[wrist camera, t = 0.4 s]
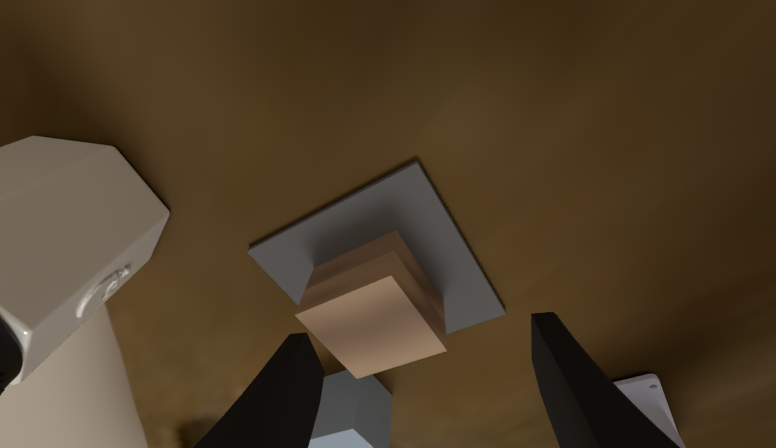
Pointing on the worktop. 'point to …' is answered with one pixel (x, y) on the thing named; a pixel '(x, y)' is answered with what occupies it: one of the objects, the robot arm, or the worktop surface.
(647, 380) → the robot arm
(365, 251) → the tan cardboard box
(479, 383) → the worktop surface
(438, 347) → the slab upper
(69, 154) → the jar
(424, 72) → the worktop surface
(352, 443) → the blue cube
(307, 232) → the mat
